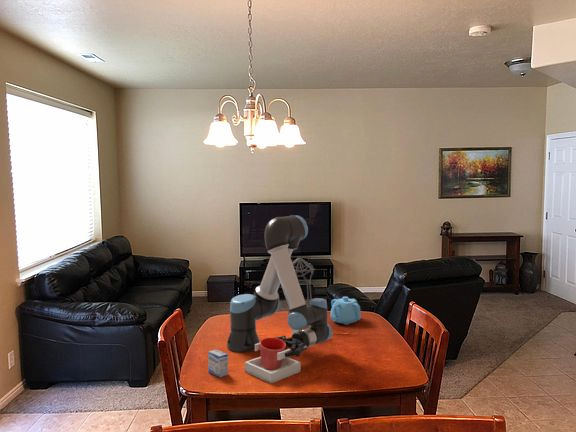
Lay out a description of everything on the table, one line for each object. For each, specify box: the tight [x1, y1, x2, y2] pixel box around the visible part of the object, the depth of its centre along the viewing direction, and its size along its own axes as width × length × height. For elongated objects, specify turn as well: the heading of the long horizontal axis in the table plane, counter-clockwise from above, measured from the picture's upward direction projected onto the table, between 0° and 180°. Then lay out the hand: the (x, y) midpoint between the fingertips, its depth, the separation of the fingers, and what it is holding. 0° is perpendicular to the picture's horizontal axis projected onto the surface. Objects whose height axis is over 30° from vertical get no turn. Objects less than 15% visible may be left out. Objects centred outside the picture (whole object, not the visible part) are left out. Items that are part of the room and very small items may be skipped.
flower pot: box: [259, 337, 287, 370], centre depth 200 cm, size 11×11×10 cm
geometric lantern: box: [287, 257, 315, 317], centre depth 263 cm, size 16×16×35 cm
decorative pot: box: [329, 296, 362, 326], centre depth 264 cm, size 16×16×14 cm
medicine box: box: [207, 349, 229, 378], centre depth 197 cm, size 8×4×9 cm, turn 45°
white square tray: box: [244, 356, 302, 384], centre depth 199 cm, size 16×16×4 cm
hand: (266, 352), depth 196 cm, fingers open, 13 cm apart
